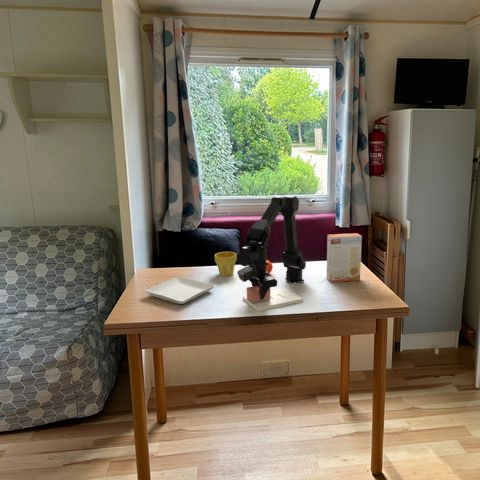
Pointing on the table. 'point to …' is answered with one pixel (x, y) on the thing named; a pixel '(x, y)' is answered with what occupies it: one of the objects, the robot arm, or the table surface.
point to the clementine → (269, 267)
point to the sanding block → (256, 295)
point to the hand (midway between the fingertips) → (259, 297)
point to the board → (276, 299)
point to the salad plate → (179, 290)
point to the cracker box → (344, 257)
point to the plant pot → (225, 263)
